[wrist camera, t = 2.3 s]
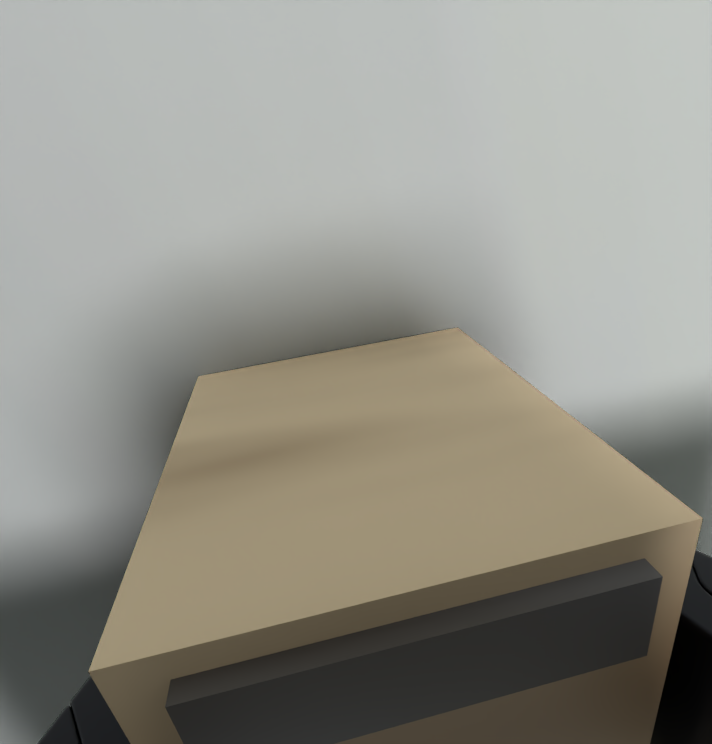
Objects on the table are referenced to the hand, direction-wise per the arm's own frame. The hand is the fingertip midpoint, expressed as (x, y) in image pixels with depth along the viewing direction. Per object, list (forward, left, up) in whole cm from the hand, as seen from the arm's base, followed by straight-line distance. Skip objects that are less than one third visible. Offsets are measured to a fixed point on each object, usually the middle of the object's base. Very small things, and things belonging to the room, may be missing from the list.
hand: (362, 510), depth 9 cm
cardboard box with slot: (0, 0, -1) cm, 1 cm away
